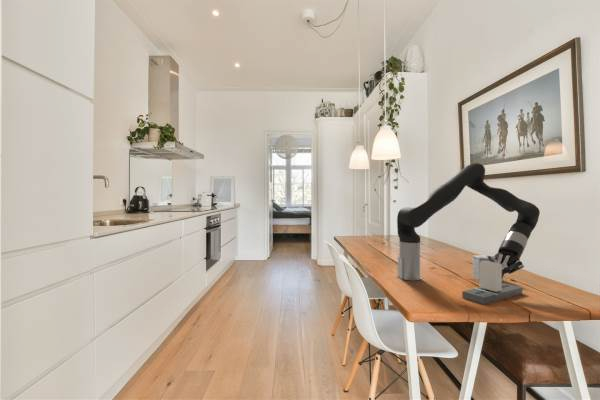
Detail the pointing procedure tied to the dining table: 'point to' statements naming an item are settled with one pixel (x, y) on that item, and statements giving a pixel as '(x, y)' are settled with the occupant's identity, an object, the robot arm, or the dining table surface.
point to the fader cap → (490, 276)
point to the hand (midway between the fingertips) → (496, 279)
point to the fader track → (491, 294)
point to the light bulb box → (476, 264)
